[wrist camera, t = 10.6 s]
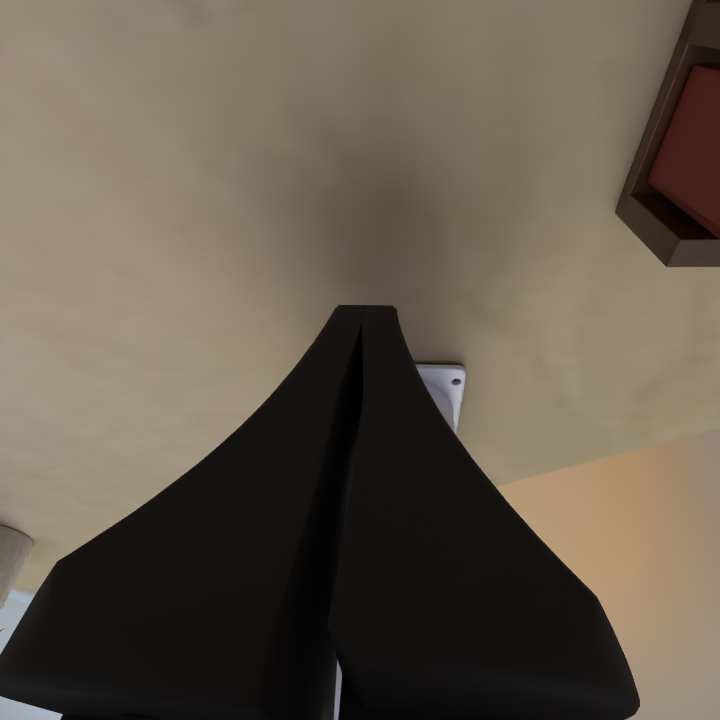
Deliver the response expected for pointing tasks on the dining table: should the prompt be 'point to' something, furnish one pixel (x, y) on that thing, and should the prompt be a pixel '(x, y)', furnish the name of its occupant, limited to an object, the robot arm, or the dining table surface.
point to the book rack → (639, 199)
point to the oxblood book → (693, 150)
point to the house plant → (11, 558)
